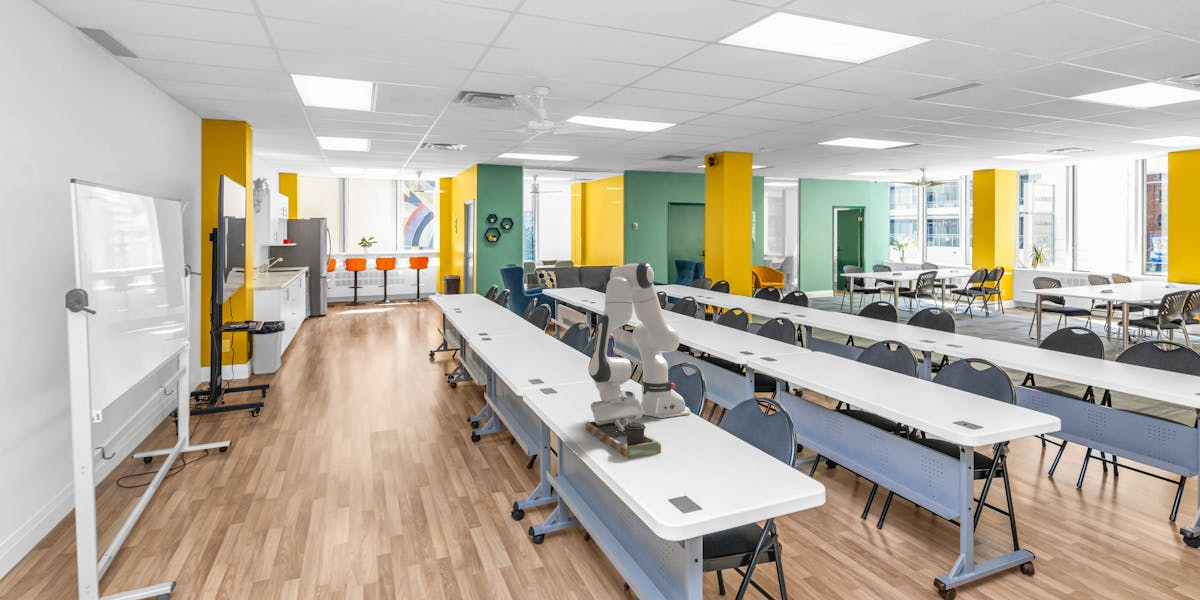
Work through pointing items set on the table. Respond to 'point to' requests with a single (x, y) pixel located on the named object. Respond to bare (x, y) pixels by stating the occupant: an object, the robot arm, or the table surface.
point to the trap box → (631, 451)
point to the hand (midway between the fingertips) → (624, 430)
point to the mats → (613, 432)
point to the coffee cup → (634, 433)
